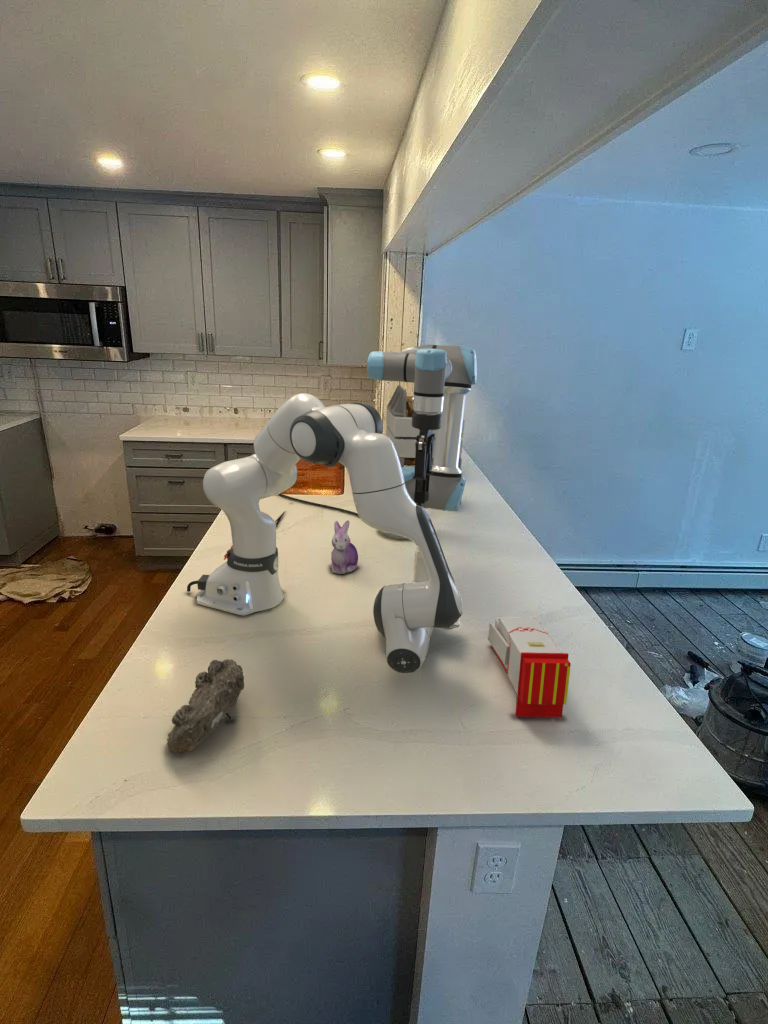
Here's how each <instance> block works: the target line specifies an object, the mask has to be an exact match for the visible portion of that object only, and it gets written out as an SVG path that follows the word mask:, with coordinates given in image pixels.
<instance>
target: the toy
mask: <svg viewBox="0 0 768 1024" xmlns="http://www.w3.org/2000/svg"><path fill="white" fill-rule="evenodd" d="M488 625H489V627H488V633H487V641H488V642H489V644H490V646H491V647H490V648H491V649H492V650H493V652H494V654H495V656H496V658H497V659H498V660H499V662H500V664H501V666H502V668H503V669H504V671H505V673H506V674H507V676H508V678H509V680H510V682H511V685H512V686H513V689H514V690H515V693H516V704H515V717H516V718H517V717H518V718H519V717H520V718H521V717H522V718H563V710H564V705H567V701H568V692H569V685H570V684H569V683H570V676H571V675H570V674H571V666H572V664H571V661H570V660H569V655H570V654H569V653H568V652H563V651H562V649H561V648H560V647H559V646H558V644H557V643H556V642H555V640H554V639H553V638H552V636H551V635H550V634H549V632H548V631H547V629H546V628H545V627H544V626H543V624H542V622H541V621H540V620H539V619H538V618H537V616H498V618H496V619H494V623H493V622H489V624H488Z"/></svg>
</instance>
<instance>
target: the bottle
mask: <svg viewBox="0 0 768 1024" xmlns="http://www.w3.org/2000/svg"><path fill="white" fill-rule="evenodd" d="M412 575H413V576H412V583H415V582H424V581H429V580H431V579H430V576H429V573H428V571H427V568H426V565H425V563H424V560H423V557H422V554H421V552H420V549H419V547H418V546H417V547H416V549H415V551H414V561H413V574H412Z"/></svg>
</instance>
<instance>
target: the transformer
mask: <svg viewBox="0 0 768 1024" xmlns="http://www.w3.org/2000/svg"><path fill="white" fill-rule="evenodd" d="M407 394H408V393H407V390H406V389H404V388H403V387H402V385H399V384H398V385H397V386H396V388H395V390H394V392H393V394H392V395H391V398H390V400H389V402H388V404H387V405H386V413H385V414H386V415H385V423H386V428H385V435H386V436H388V437H389V438H390V439H391V440H392V442H393V444H394V446H395V449H396V451H397V454H398V457H399V460H400V463H401V467H405V466H406V467H415V454H416V446H415V443H416V442H417V441H416V440H417V435H419V432H420V430H419V429H416V428H414V427H412V414H413V413H414V412H415V411H414V410H413V403H414V402H412V401H411V399H412V398H414V395H412V396H411V395H407ZM464 429H465V419H464V418H463V425H462V434H461V444H460V453H459V463H458V468H459V469H460V470H461V471H462V461H463V460H462V453H463V442H464V441H463V440H462V439H463V438H464V431H465V430H464ZM433 433H435V436H436V430H433ZM434 447H435V437H434V446H433V457H434ZM432 464H433V458H432Z"/></svg>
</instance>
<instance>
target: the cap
mask: <svg viewBox="0 0 768 1024" xmlns="http://www.w3.org/2000/svg"><path fill="white" fill-rule="evenodd" d="M414 499H415V494H414ZM428 500H429V492H427V491H426V494H425V502H426V501H428Z"/></svg>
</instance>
